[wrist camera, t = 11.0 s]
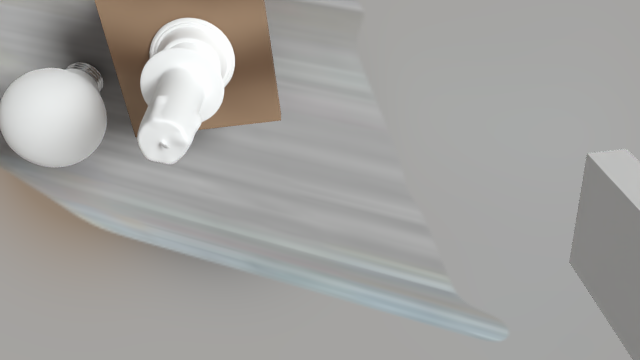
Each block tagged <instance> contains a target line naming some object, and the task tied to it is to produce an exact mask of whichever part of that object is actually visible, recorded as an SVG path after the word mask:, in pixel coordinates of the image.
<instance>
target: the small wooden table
mask: <svg viewBox="0 0 640 360" xmlns="http://www.w3.org/2000/svg"><path fill="white" fill-rule="evenodd" d="M95 3H96V7H97V10H98V13H99V17H100V20H101V23H102V27H103V30H104V33H105V37H106V40H107V43H108V47H109V50H110V53H111V57H112V60H113V63H114V67H115V70H116V73H117V77H118V80H119V84H120V87H121V90H122V94H123V97H124V100H125V104H126V107H127V110H128V114H129V117H130V120H131V124H132V127H133V130H134V134H135V137H137V134H138V129H139V126H140V124H141V121H142V119H143V117H144V114H145V112H146V110H147V108H148V105H147V103H146V102H145V100H144V98H143V95H142V92H141V87H140V78H141V73H142V70H143V68H144V66H145V64H146V63H147V62H148V60H149V59H150V46H151V43H152V40H153V38H154V36H155V35H156V33H157V32H158V31H159V30H160V29H161V28H162V27H163V26H164V25H165V24H167V23H169V22H171V21H173V20H176V19H180V18H197V19H201V20H204V21H207V22H209V23H211V24H213V25H214V26H216V27H217V28H218V29H220V30H221V31H222V32H223V33H224V34H225V36H226V37H227V38H228V40H229V42H230V43H231V45H232V48H233V51H234V55H235V68H234V72H233V75H232V78H231V80H230V81H229V83H228V84H227V85H226V86H225V87H224V97H223V101H222V104H221V106H220V107H219V109H218V110H217V112H216V113H215V114H214V115H213V116H212V117H210V118H209V119H207V120H205V121H203V122H202V123H201V126H200V127H199V129H198V130H201V129H210V128H219V127H227V126H236V125H245V124H253V123H262V122H271V121H279V120H281V110H280V104H279V97H278V90H277V83H276V77H275V70H274V63H273V56H272V49H271V43H270V36H269V29H268V22H267V16H266V9H265V2H264V0H95Z"/></svg>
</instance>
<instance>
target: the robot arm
mask: <svg viewBox="0 0 640 360" xmlns="http://www.w3.org/2000/svg"><path fill="white" fill-rule="evenodd" d="M569 263H570V264H571V266H572V267H573V269H574V270H575V272H576V273H577V275H578V276H579V278H580V279H581V281H582V282H583V284H584V286H585V287H586V289H587V290H588V292H589V293H590V295H591V296H592V298H593V299H594V301H595V302H596V304H597V306H598V307H599V308H600V310H601V312H602V313H603V315H604V316H605V317H606V319H607V321H608V322H609V324H610V325H611V327H612V329H613V330H614V332H615V333H616V335H617V336H618V338H619V339H620V341H621V342H622V344H623V345H624V347H625V348H626V350H627V351H628V353H629V354H630V356H631V358H632V359H633V360H640V162H639V161H638V160H637V159H636V158H635V157H634V156H633V155H632V154H631V153H630V152H629V151H628V150H627V149H621V150H612V151H603V152H594V153H587V157H586V163H585V169H584V175H583V182H582V187H581V193H580V200H579V206H578V212H577V218H576V224H575V230H574V237H573V242H572V249H571V255H570V261H569Z"/></svg>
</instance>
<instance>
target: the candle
mask: <svg viewBox="0 0 640 360" xmlns="http://www.w3.org/2000/svg"><path fill="white" fill-rule="evenodd" d="M234 68H235V55H234V51H233V48H232V45H231V43H230V42H229V40H228V38H227V37H226V36H225V34H224V33H223V32H222V31H221V30H220V29H218V28H217V27H216V26H214V25H213V24H211V23H209V22H207V21H204V20H201V19H197V18H180V19H176V20H173V21H171V22H169V23H167V24H165V25H164V26H163V27H162V28H161V29H160V30H159V31H158V32H157V33H156V35H155V36H154V38H153V40H152V43H151V46H150V59H149V60H148V62H147V63H146V64H145V66H144V68H143V70H142V73H141V78H140V87H141V92H142V95H143V98H144V100H145V102H146V103H147V105H148V108H147V110H146V112H145V114H144V117H143V119H142V121H141V124H140V126H139V129H138V134H137V141H138V145H139V147H140V149H141V151H142V153H143V155H144V157H145V158H146V159H148V160H150V161H155V162H160V163H164V164H174V163H176V162H177V161H178V160H179V159H180V158H181V157H182V156H183V155H184V154H185V153H186V152H187V150H188V148H189V147H190V145H191V143H192V141H193V139H194V135H195V133H196V132H197V130H198V129H199V127H200V126H201V123H202V122H203V121H205V120H207V119H209V118H210V117H212V116H213V115H214V114H215V113H216V112H217V110H218V109H219V107H220V106H221V104H222V101H223V97H224V87H225V86H226V85H227V84H228V83H229V81H230V80H231V78H232V75H233V72H234Z"/></svg>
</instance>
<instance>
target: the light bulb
mask: <svg viewBox="0 0 640 360" xmlns="http://www.w3.org/2000/svg"><path fill="white" fill-rule="evenodd" d="M102 88H103V78H102V76H101V73H100V72H99V71H98V70H97V69H96V68H95V67H94V66H92V65H90V64H88V63H82V62H77V63H73V64H70V65H69V66H68V67H67V68H65V70H64V69H59V68H44V69H37V70H33V71H30V72H27V73H26V74H24V75H22V76H21V77H19V78H18V79H16V80H15V81H14V82H13V83H12V84H11V85H10V86H9V87H8V88H7V90H6V91H5V93H4V95H3V97H2V98H1V102H0V129H1V132H2V135H3V137H4V139H5V141H6V142H7V144H8V145H9V147H10V148H11V149H12V150H13V151H14V152H15V153H17V154H18V155H19V156H21V157H22V158H23V159H25V160H27V161H29V162H31V163H34V164H36V165H39V166H44V167H55V168H56V167H65V166H70V165H73V164H76V163H78V162H80V161H82V160H84V159H86V158H87V157H89V156H90V155H91V154H92V153H93V152H94V151H95V150H96V149H97V148H98V146H99V145H100V143H101V142H102V140H103V137H104V134H105V131H106V127H107V115H106V108H105V105H104V102H103V100H102V98H101V96H100V92H101V90H102Z"/></svg>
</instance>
